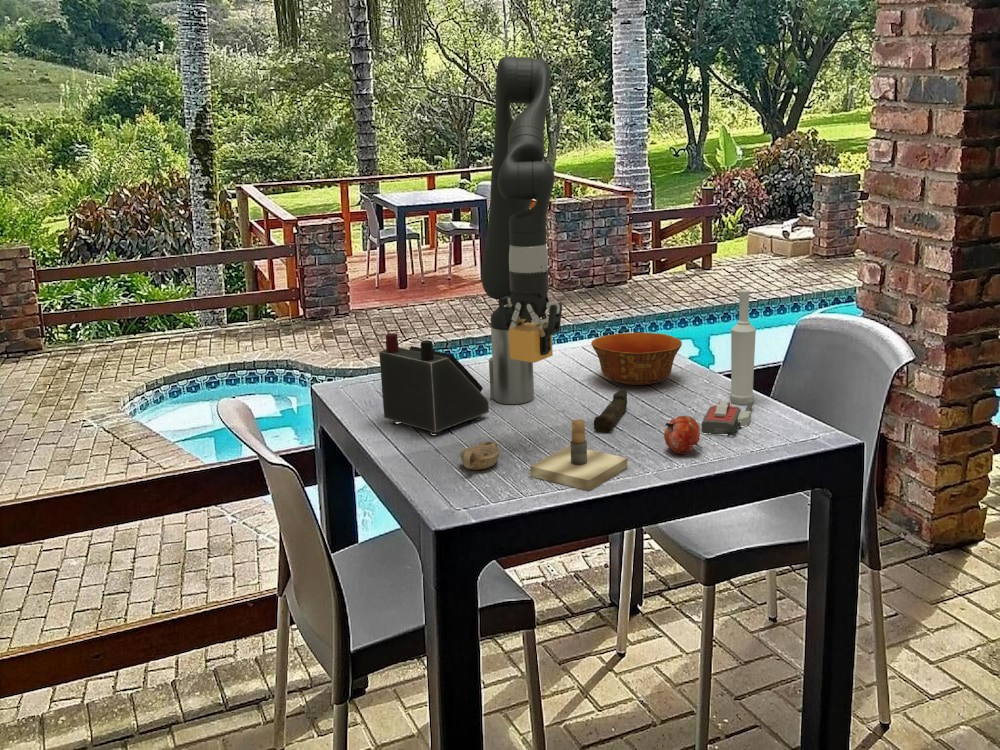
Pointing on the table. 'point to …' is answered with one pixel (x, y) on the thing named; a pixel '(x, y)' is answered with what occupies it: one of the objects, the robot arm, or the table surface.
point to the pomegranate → (682, 434)
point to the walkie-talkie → (725, 418)
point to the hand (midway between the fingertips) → (531, 351)
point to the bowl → (636, 356)
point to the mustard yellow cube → (526, 343)
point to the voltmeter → (427, 387)
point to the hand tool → (611, 412)
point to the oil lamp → (480, 456)
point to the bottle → (742, 354)
